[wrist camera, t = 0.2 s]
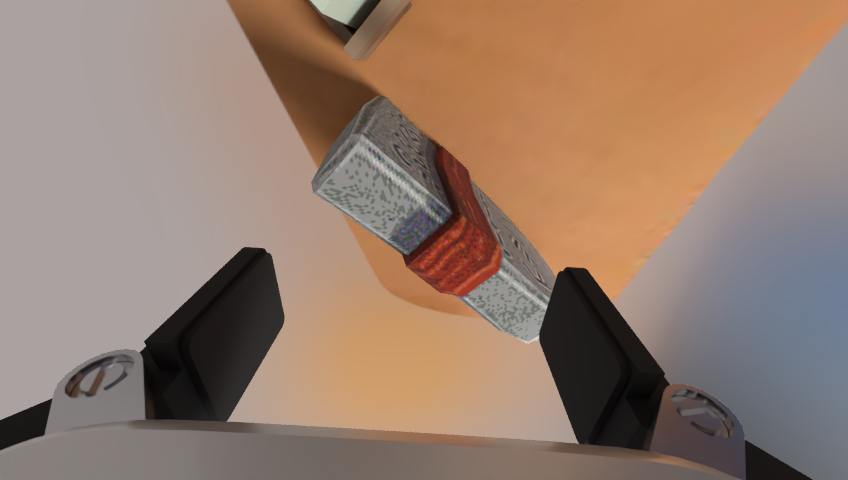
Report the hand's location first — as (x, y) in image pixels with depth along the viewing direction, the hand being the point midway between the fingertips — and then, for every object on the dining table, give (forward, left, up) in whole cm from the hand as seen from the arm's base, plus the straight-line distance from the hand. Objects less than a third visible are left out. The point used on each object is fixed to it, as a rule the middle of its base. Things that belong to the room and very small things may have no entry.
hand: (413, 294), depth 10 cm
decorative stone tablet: (+3, +9, -31) cm, 32 cm away
